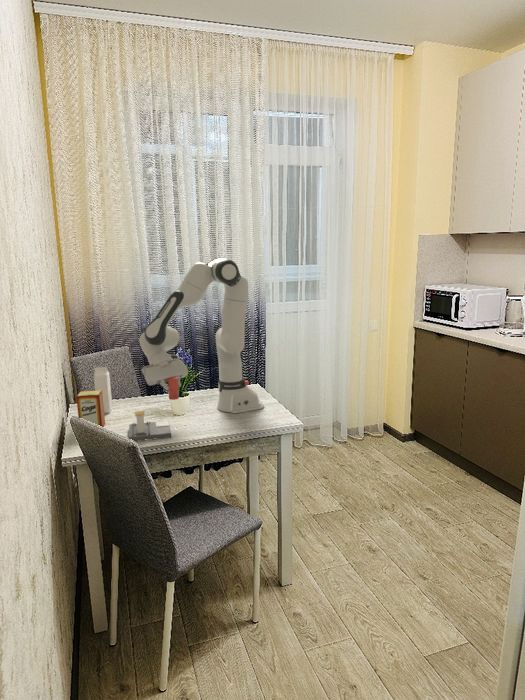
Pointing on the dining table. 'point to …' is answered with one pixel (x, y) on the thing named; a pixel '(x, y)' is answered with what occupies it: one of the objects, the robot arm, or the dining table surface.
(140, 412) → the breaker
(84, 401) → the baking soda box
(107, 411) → the milk
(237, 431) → the dining table surface
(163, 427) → the panel
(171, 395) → the cap
